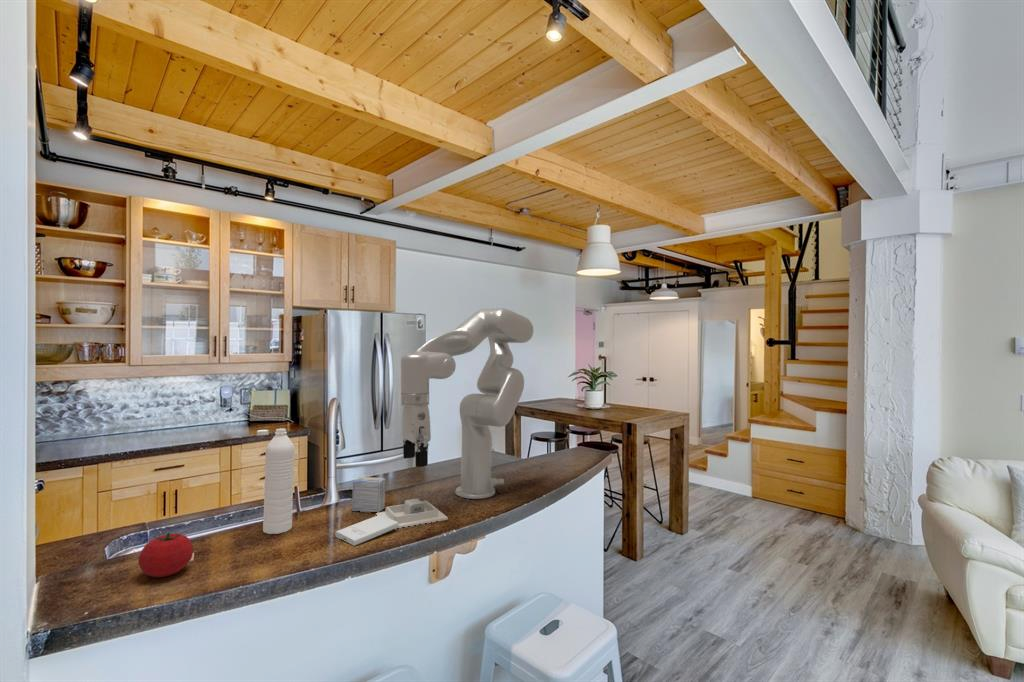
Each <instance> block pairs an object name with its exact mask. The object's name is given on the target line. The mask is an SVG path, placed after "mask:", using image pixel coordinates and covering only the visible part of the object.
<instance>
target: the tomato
mask: <svg viewBox="0 0 1024 682" xmlns="http://www.w3.org/2000/svg"><path fill="white" fill-rule="evenodd" d="M193 554H194V546H193V542H192V541H191V539H190V538H189V537H188V536H186V535H185V532H184V533H172V532H171V533H170V532H167V534H163V535H159V536H158V537H155V538H154V539H151V540H150V541H148V542H147V543H146V544H145V545H144V547H142V549H141V550H140V554H139V555H138V556H139V557H138V561H137V563H138V565H139V569H140V570H141V571H142V572H143V573H144V575H147V576H149V577H152V578H164V577H169V576H172V575H174V574H177V573H178V572H180V571H181V570H182V569H184V568H185V567H186V566H187V565H188V564H189V563H190V561H191V560H192V557H193Z"/></svg>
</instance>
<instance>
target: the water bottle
mask: <svg viewBox="0 0 1024 682" xmlns="http://www.w3.org/2000/svg"><path fill="white" fill-rule="evenodd" d="M287 433H288V431H287V428H283V427H282V428H281V427H280V428H276V429H275V433H274V436H273V438H272V439H271V440H270V441H269V443H268V444H267V446H266V448H265V460H264V461H265V469H264V472H265V473H264V486H263V487H264V492H263V495H264V499H263V505H264V506H263V517H262V518H263V519H262V520H263V523H262V531H263V533H264V534H268V535H273V534H274V535H279V534H282V533H287V532H288V531H290V530H292V528H293V508H294V501H293V499H294V495H293V494H294V480H295V479H294V472H295V471H294V469H295V468H294V467H295V451H296V449H295V445H294V443H293V441H292V440H291V439H290V437H289V436H288V435H287ZM256 435H257V436H267V435H269V429H258V430H256Z"/></svg>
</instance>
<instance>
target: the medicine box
mask: <svg viewBox="0 0 1024 682" xmlns="http://www.w3.org/2000/svg"><path fill="white" fill-rule="evenodd" d="M351 499H352V502H351V503H352V504H351V505H352V506H351V511H360V512H359V513H371V512H377V513H379V512H380V511H381V512H383V510H384V509H386V503H385V502H386V478H384V477H371V476H369V477H367V476H359V477H357V478H355V480H353V481H352V498H351Z"/></svg>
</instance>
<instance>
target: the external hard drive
mask: <svg viewBox="0 0 1024 682" xmlns="http://www.w3.org/2000/svg"><path fill="white" fill-rule="evenodd" d="M398 526H399V525H398V522H397V521H394V520H392V519H390V518H387V517H385V516H382V515H377V516H376V515H375V516H373V517H369V518H367V519H365V520H362V521H360V522H357V523H354V524H352V525H349V526H346V527H344V528H341V529H339V530H336V531H335V533H334V534H335V535H334V536H335V537H336V539H339V540H341V539H342V540H344V541H346V542H348V543H350V544H352V545H353V547H354V546H358V545H360V544H362V543H364V542H367V541H369V540H372V539H374V538H376V537H379V536H382V535H383V534H386V533H388V532H391V531H393V529H394V530H397V529H396V528H398ZM342 540H341V541H342ZM344 541H343V542H344ZM346 542H345V543H346ZM348 543H347V544H348ZM350 544H349V545H350ZM352 545H351V546H352Z"/></svg>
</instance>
